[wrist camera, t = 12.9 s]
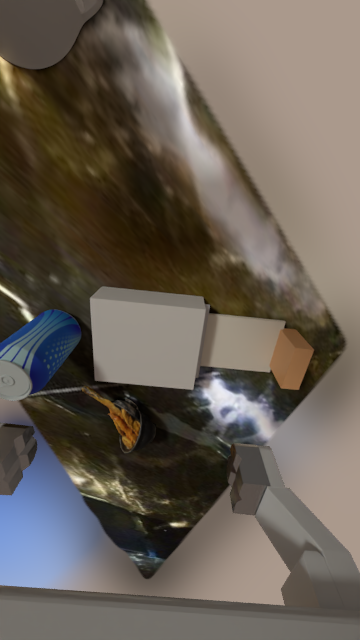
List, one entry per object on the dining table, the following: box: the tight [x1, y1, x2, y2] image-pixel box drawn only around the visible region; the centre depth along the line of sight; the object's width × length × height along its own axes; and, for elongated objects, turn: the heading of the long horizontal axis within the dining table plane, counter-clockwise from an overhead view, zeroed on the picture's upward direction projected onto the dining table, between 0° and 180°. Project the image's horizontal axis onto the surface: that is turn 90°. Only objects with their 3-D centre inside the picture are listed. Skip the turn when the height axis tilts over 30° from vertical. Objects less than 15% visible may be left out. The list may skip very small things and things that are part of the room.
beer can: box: [0, 310, 81, 401], centre depth 39 cm, size 8×8×16 cm
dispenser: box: [90, 287, 210, 390], centre depth 44 cm, size 16×19×6 cm
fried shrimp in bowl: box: [81, 386, 156, 454], centre depth 51 cm, size 9×11×18 cm
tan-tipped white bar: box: [200, 313, 314, 390], centre depth 42 cm, size 11×22×7 cm, turn 84°
